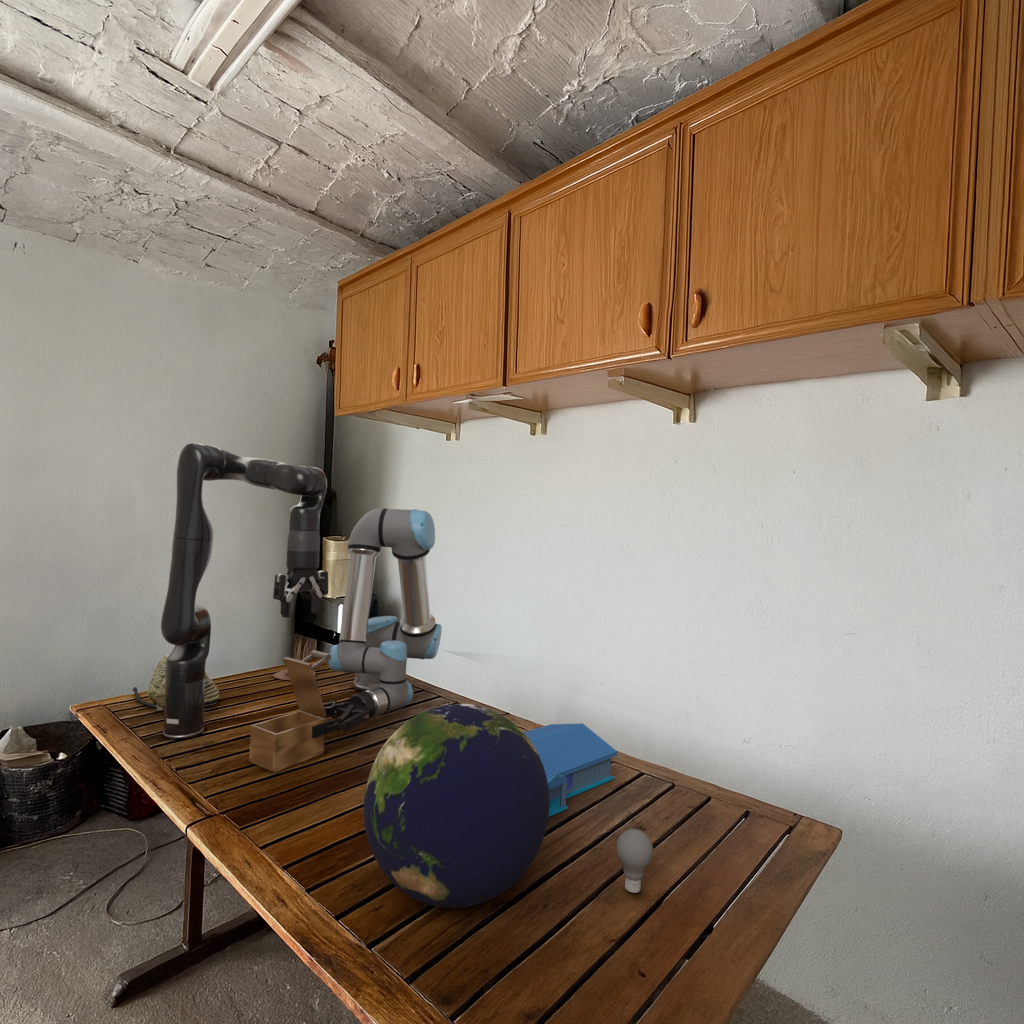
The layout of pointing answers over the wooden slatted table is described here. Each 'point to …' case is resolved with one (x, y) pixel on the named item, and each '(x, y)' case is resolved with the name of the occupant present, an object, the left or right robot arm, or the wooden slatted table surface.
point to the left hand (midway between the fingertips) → (300, 615)
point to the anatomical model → (285, 674)
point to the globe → (456, 806)
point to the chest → (285, 741)
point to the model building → (571, 760)
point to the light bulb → (634, 857)
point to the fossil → (158, 687)
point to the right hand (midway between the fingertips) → (299, 727)
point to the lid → (306, 682)
